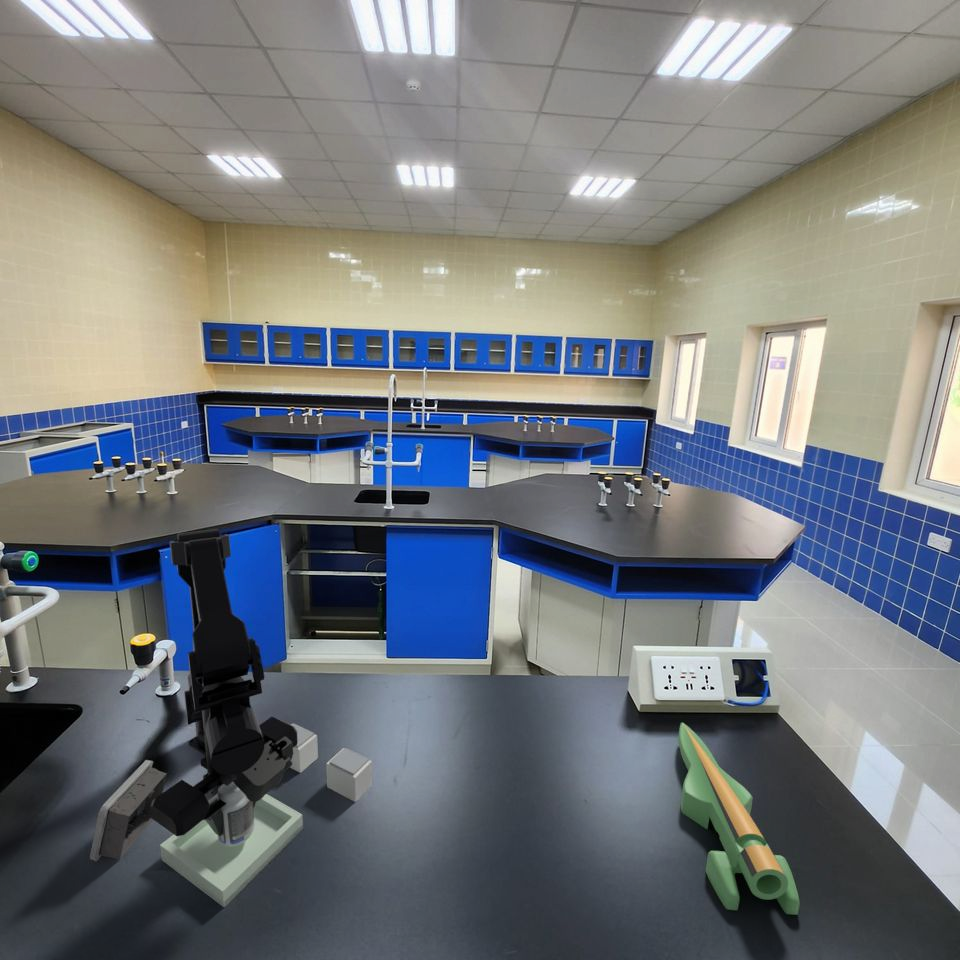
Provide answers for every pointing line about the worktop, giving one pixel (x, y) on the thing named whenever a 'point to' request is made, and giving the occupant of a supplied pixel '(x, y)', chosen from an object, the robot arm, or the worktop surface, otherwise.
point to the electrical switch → (127, 812)
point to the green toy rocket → (731, 830)
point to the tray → (232, 851)
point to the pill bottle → (235, 816)
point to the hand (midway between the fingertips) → (235, 820)
